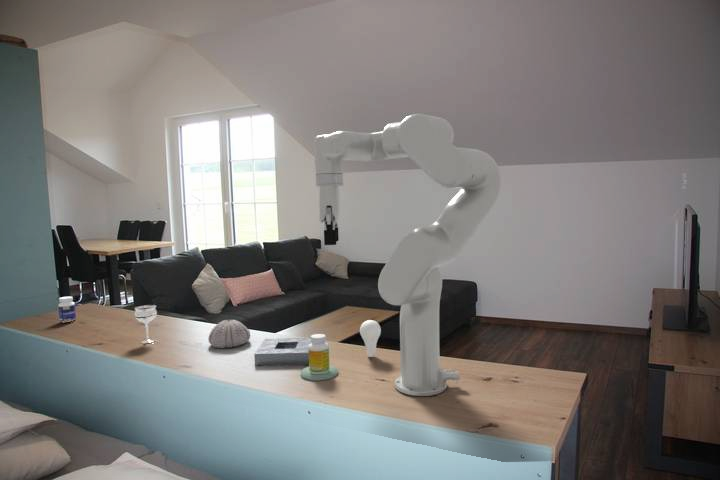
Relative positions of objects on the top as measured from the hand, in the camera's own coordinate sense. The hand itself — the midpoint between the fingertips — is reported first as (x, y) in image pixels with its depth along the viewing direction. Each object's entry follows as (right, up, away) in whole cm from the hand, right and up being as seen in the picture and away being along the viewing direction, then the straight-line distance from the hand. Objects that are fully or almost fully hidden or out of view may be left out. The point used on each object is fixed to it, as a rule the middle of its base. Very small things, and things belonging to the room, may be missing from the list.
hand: (331, 243), depth 134 cm
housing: (-14, -34, +10) cm, 38 cm away
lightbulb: (+11, -34, +7) cm, 36 cm away
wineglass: (-64, -34, +28) cm, 77 cm away
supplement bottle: (-3, -35, -5) cm, 35 cm away
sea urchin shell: (-35, -34, +24) cm, 54 cm away
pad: (-3, -35, -4) cm, 35 cm away
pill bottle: (-109, -32, +59) cm, 128 cm away
